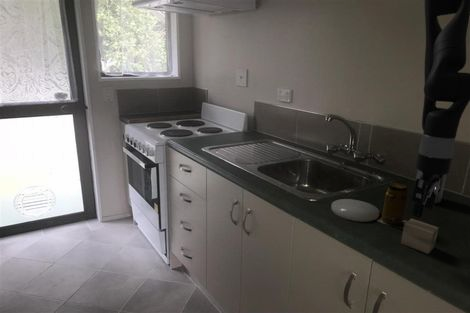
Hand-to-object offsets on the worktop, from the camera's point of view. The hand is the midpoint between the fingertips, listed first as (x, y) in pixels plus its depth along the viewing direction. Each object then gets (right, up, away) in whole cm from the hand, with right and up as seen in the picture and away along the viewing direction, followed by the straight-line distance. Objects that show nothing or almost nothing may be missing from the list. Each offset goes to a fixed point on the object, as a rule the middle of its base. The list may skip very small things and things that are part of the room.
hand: (422, 212), depth 91 cm
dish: (-10, -3, +22) cm, 25 cm away
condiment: (0, -6, +16) cm, 17 cm away
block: (0, -10, +3) cm, 10 cm away
